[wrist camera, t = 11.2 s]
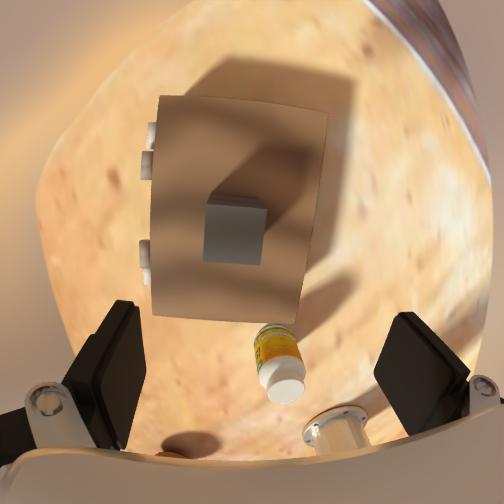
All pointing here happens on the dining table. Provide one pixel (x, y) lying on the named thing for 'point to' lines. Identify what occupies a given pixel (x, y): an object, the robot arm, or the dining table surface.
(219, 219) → the door
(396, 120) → the dining table surface
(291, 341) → the supplement bottle
